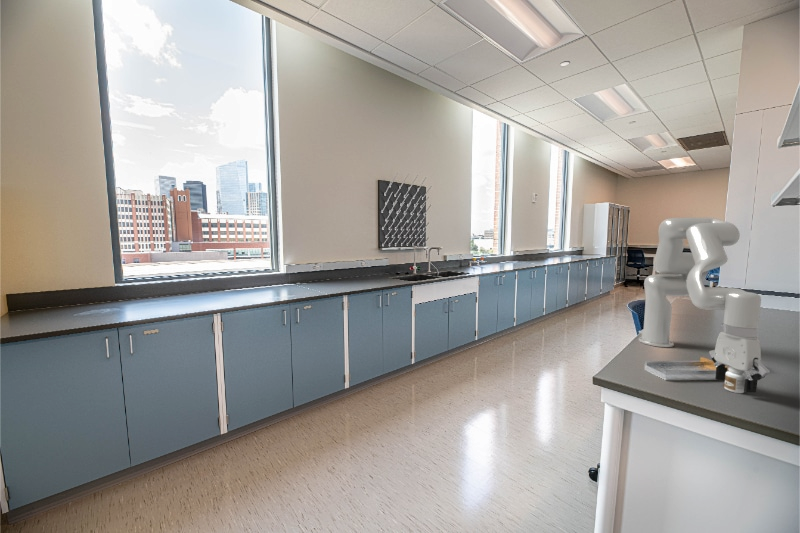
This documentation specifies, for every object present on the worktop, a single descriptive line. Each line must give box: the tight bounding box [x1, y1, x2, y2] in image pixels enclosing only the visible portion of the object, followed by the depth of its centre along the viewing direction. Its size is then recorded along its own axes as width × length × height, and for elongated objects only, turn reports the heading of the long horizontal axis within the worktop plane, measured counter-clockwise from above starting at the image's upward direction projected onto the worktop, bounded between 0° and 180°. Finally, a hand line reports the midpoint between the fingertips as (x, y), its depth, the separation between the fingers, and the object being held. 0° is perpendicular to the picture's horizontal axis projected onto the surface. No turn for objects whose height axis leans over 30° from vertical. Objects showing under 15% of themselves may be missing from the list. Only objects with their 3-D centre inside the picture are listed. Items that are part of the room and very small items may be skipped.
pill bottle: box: [723, 366, 746, 394], centre depth 102 cm, size 4×4×8 cm
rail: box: [644, 356, 729, 381], centre depth 114 cm, size 9×22×4 cm, turn 92°
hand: (734, 385), depth 103 cm, fingers open, 8 cm apart
